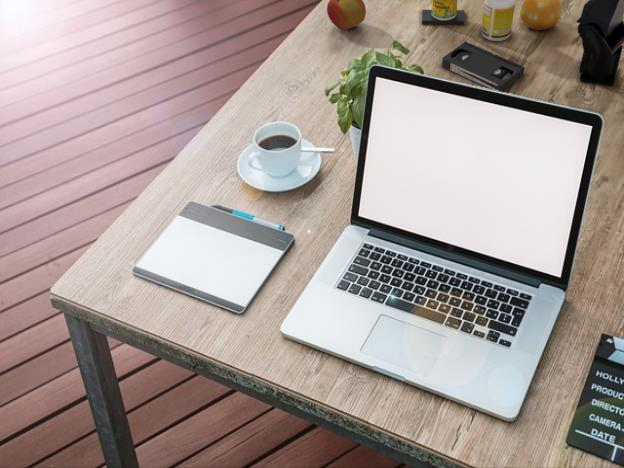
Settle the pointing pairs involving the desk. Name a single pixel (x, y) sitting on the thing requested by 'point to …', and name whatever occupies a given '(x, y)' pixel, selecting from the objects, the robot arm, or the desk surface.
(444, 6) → the supplement bottle
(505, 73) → the vhs tape
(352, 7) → the apple
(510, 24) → the pill bottle
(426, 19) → the scrub mat
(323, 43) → the desk surface
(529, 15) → the fruit
